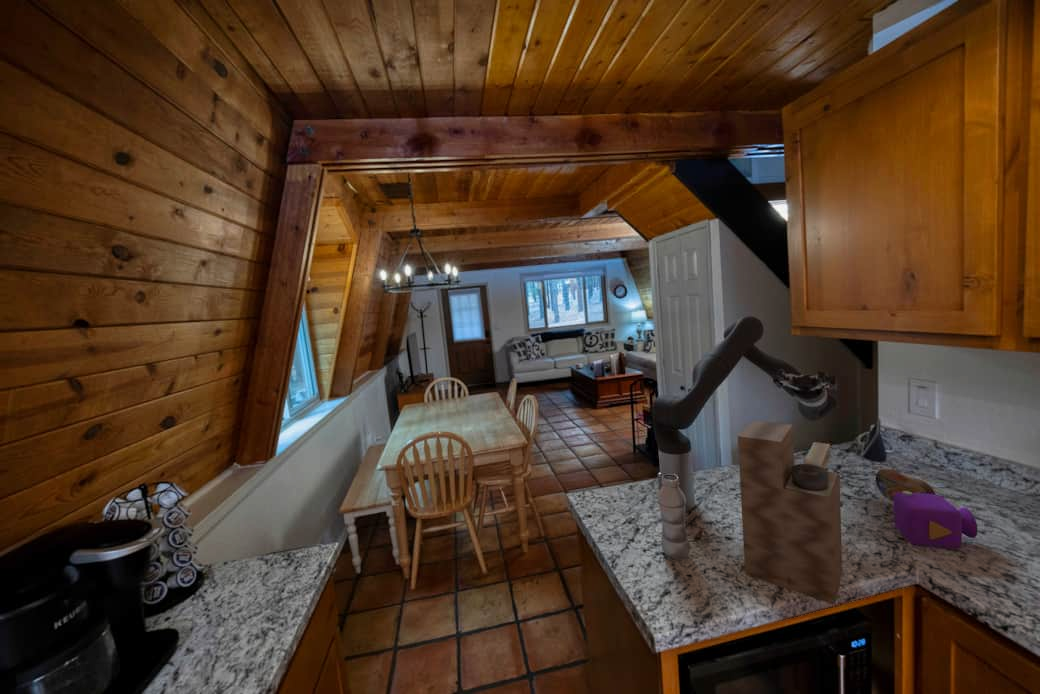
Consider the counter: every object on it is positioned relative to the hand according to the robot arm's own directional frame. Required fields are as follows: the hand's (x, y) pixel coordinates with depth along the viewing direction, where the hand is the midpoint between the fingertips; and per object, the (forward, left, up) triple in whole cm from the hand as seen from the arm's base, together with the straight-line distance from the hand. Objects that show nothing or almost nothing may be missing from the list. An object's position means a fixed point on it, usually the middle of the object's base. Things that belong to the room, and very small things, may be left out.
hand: (799, 373), depth 108 cm
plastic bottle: (-21, -36, -39) cm, 57 cm away
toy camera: (+25, +2, -39) cm, 46 cm away
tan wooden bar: (+6, -24, -16) cm, 30 cm away
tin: (+20, +18, -39) cm, 47 cm away
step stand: (+2, -29, -39) cm, 48 cm away
